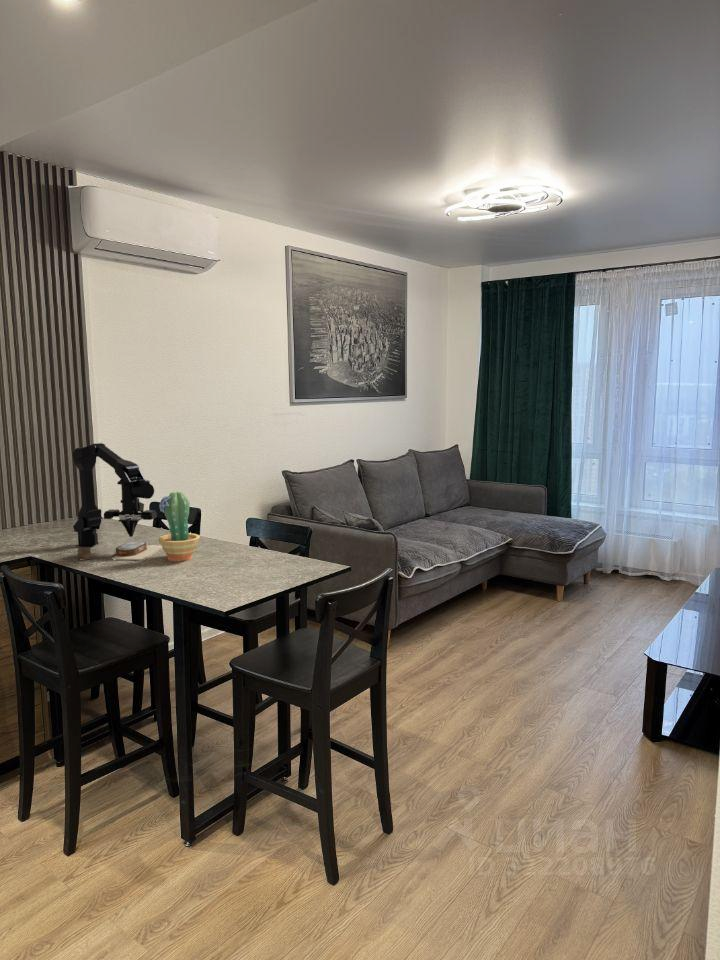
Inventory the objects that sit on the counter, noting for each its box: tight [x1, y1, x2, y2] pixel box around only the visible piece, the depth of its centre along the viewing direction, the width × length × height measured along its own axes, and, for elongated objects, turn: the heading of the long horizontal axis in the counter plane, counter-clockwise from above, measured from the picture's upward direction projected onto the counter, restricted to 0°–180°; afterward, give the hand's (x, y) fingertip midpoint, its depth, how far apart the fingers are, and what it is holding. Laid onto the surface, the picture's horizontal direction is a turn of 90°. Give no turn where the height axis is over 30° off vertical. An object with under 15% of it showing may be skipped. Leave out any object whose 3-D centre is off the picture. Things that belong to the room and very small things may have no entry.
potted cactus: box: [157, 491, 201, 562], centre depth 246 cm, size 15×15×25 cm
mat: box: [111, 544, 163, 562], centre depth 254 cm, size 12×22×1 cm, turn 176°
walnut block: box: [77, 547, 92, 561], centre depth 245 cm, size 4×4×4 cm
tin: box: [115, 541, 148, 557], centre depth 254 cm, size 15×3×8 cm
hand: (131, 536), depth 254 cm, fingers closed
